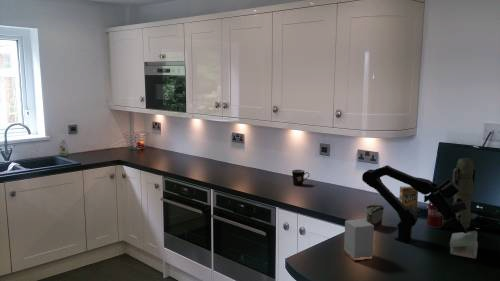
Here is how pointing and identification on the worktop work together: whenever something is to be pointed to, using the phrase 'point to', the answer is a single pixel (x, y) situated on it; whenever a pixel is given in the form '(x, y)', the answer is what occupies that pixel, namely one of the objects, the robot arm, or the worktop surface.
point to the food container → (374, 215)
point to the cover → (463, 239)
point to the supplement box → (358, 238)
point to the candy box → (409, 197)
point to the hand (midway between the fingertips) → (466, 232)
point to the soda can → (434, 217)
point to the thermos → (465, 186)
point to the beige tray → (465, 251)
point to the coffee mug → (298, 177)
